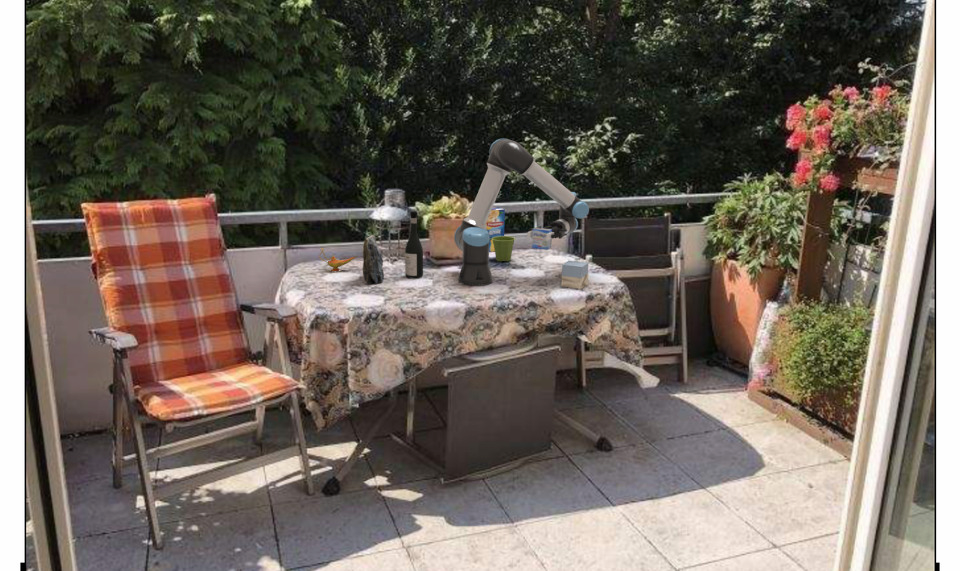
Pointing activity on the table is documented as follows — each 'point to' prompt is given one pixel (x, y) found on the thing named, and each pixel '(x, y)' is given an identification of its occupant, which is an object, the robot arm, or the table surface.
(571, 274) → the tower top block
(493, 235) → the beverage box
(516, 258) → the table surface
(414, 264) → the wine bottle
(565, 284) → the tower base block
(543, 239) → the medicine box
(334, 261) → the magic lamp
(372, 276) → the stone block
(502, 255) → the plant pot
